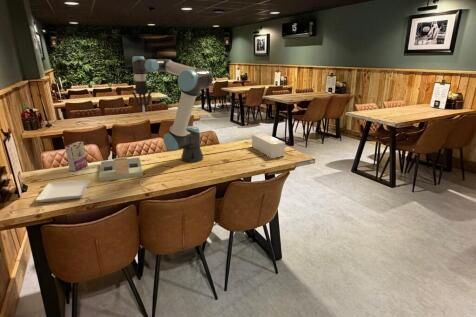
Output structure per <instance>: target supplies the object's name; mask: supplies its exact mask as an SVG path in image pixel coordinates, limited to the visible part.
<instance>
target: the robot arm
mask: <svg viewBox="0 0 476 317" xmlns="http://www.w3.org/2000/svg"><path fill="white" fill-rule="evenodd" d="M131 63H132V69H133V77H134V86H135V88H134V90H132V91H131V94H132V95H133V97H134V100H135V103H136V105H137V106H138V107H140V111H141V112H142V116H143V117H146V112H147V106H149V105H150V98H151V95H152V90H149V88H148V84H147V73H146V72H149V73H152V72H153V73H155V72H165V73H169V74H172V75H174V76H178V77H177V83H178V84H177V85H178V87H179V91H180V92H181V94H180V97H179V102H178V104H177V105H178V106H177V109H176V113H175V117H174V120H173V124H172V125H171V126H170V127H169V130H168V132H167V133H165V134H164V135H163V138H162V139H163V143H164V145H165V147H166V148H167V149H168V150H169V151H172V152H174V151H178V150H181V149H182V153H181V159H180V160H181V161H182V162H185V163H197V162H201V161H203V160H204V154H203V151H202V149H201V135H200V134H201V131H200V129H199V127H198V126H193V125H192V126H191V125H189V122H190V118H191V115H192V111H193V108H194V104H195V101H196V98H197V97H199V96H200V93H201V90H205V89H208V88H210V87H211V86H212V84H213V82H214V76H213V73H212V72H211V71H210V70H209V69H206V68H201V67H197V68H195V67H191V66H188V65H185V64H183V63H178V62H175V61H172V60H171V59H167V58H163V59H162V58H161V59H160V58H159V59H156V58H155V59H152V58H150V59H149V58H148V59H146V58H145V57H144V56H141V55H140V56H139V55H138V56H135V55H134V56H132V62H131ZM137 95H138V96H139V98H138V97H137ZM146 95H147V99H146ZM138 99H139V100H138ZM142 99H143V100H142Z"/></svg>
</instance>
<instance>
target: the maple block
mask: <svg viewBox="0 0 476 317" xmlns="http://www.w3.org/2000/svg"><path fill="white" fill-rule="evenodd" d="M127 159H128V158H127V156H124V157H123V156H122V157H115V158H114V159H113V160H114V162H115V169H116V175H119V174H126V173H129V168H128V160H127Z"/></svg>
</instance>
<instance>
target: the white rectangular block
mask: <svg viewBox="0 0 476 317" xmlns="http://www.w3.org/2000/svg"><path fill="white" fill-rule="evenodd" d="M252 147H253V149H254V148H255V149H254V150H256V149H257V150H259V151H260V153H261V152H262V153H261V154H263V153H264V154H266V155H267V156H266V155H265V156H266V157H268V156H269V157H270V159H271V158H273V159H277V158H276V157H280V156H285V154H286V153H285V152H286V142H285V141H283V140H281V139H278V138H276V137H274V136H271V135H269V134H267V133H265V132H260V133H259V132H258V133H252V134H251V148H252ZM257 150H256V151H257ZM259 151H258V152H259ZM264 154H263V155H264ZM269 157H268V158H269ZM280 158H281V157H280Z"/></svg>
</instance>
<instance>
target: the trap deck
mask: <svg viewBox="0 0 476 317" xmlns="http://www.w3.org/2000/svg"><path fill="white" fill-rule="evenodd" d="M127 160H128V168H129V173H126V174H119V175H116V169H115V162H114V159H113V160H106V161H105V160H104V161H101V162H100V167H99V175H98V180H99V181H98V182H106V181H107V182H108V181H113V180H114V181H115V180H122V179H130V178H137V177H143V176H144V172H143V167H142V162H141V159H140V157H132V158H131V157H130V158H127Z"/></svg>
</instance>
